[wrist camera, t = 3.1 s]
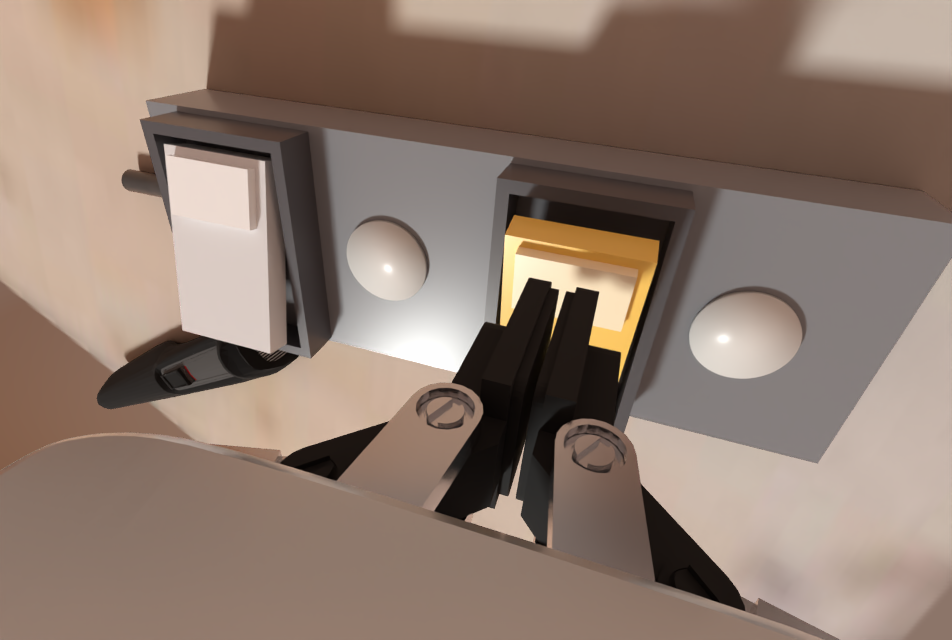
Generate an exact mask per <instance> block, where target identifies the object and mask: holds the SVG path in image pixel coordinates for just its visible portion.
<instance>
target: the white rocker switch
mask: <svg viewBox="0 0 952 640" xmlns="http://www.w3.org/2000/svg"><path fill="white" fill-rule="evenodd" d="M164 151H165V161H166V171H167V181H168V191H169V201H170V211H171V221H172V231H173V241H174V251H175V261H176V271H177V281H178V291H179V301H180V311H181V321H182V330H183V331H187V332H191V333H194V334H198V335H202V336H206V337H209V338H213V339H217V340H221V341H224V342H228V343H232V344H236V345H239V346H243V347H247V348H251V349H254V350H258V351H262V352H266V353H269V354H271V353H273V352H274V351H276V350H277V349H279V348H281V347H282V346H284V345H286V344H287V330H286V264H285V243H284V236H283V230H282V224H281V217H280V211H279V204H278V198H277V192H276V185H275V179H274V173H273V166H272V160H271V158H269V157H263V156H258V155H252V154H246V153H240V152H234V151H228V150H222V149H217V148H211V147H205V146H199V145H193V144H187V143H183V144H164Z"/></svg>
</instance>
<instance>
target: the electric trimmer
mask: <svg viewBox="0 0 952 640" xmlns="http://www.w3.org/2000/svg"><path fill="white" fill-rule="evenodd" d="M298 356H299V355H296V354H292V353H288V352H285V351H281V350H276V351H274V352H273V353H271V354H269V353H266V352H262V351H258V350H254V349H251V348H247V347H243V346H239V345H236V344H232V343H228V342H224V341H221V340H217V339H213V338H209V337H206V336H201V337H199V338H197V339H194V340H192V341H189V342H186V343H183V344H178V343H176V342H173V341H166V342H164V343H162V344H160V345H158V346H156V347H154V348H153V349H151V350H149V351H148V352H146V353H144V354H143V355H141V356H139V357H138V358H136V359H134V360H133V361H131V362H129V363H128V364H126V365H124V366H123V367H121V368H120V369H118V370H117V371H116V372H114V373H113V374H112V375H111V376H110V377H109V378H108V380H107V381H106V382H105V384H104V385H103V386H102V388H101V390H100V391H99V393H98V395H97V401H98V404H99V405H101V406H102V407H104V408H107V409H114V408H120V407H125V406H130V405H135V404H140V403H145V402H151V401H156V400H161V399H166V398H171V397H176V396H181V395H186V394H190V393H194V392H200V391H204V390H209V389H214V388H219V387H223V386H228V385H233V384H237V383H242V382H246V381H249V380H252V379H256V378H259V377H264V376H268V375H271V374H274V373H277V372H278V371H280V370H282V369H283V368H285V367H286V366H287V365H289V364H290V363H291V362H292V361H294V360H295V359H297V357H298Z"/></svg>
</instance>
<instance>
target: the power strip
mask: <svg viewBox="0 0 952 640" xmlns="http://www.w3.org/2000/svg"><path fill="white" fill-rule="evenodd" d="M146 103H147V107H148V111H149V114H150V117H149V118H144V119H140V122H141V125H142V129H143V132H144V136H145V139H146V143H147V146H148V150H149V153H150V157H151V160H152V164H153V167H154V171H155V174H152V173H147V172H141V171H136V170H127V171H125V172H124V173H123V175H122V184H123V186H124V188H125V189H127V190H129V191H133V192H138V193H143V194H148V195H153V196H158V197H162V198H163V202H164V205H165V209H166V212H167V216H168V219H169V223H170V226H171V230H172V221H171V211H170V201H169V191H168V181H167V171H166V161H165V151H164V144H183V143H187V144H193V145H199V146H205V147H211V148H217V149H222V150H228V151H234V152H240V153H246V154H252V155H258V156H263V157H269V158H271V160H272V166H273V173H274V179H275V185H276V192H277V198H278V204H279V211H280V217H281V224H282V230H283V236H284V243H285V264H286V330H287V344H286V345H284V346H282V347H281V348H279V349H277V350H281V351H285V352H288V353H292V354H296V355H300V356H304V357H307V358H312V357H313V356H314V355H315V354H316V353H317V352H318V351H319V350H320V349H321V348H322V347H323V346H324V344H325V343H326V342H327V341H328V340H330V341H334V342H338V343H342V344H346V345H350V346H354V347H358V348H362V349H366V350H370V351H374V352H378V353H382V354H386V355H390V356H394V357H397V358H401V359H405V360H409V361H413V362H417V363H421V364H425V365H429V366H433V367H437V368H441V369H445V370H449V371H453V372H458V370H459V368H460V366H461V365H462V363H463V361H464V359H465V357H466V355H467V353H468V352H469V350H470V348H471V346H472V344H473V342H474V340H475V339H476V337H477V335H478V333H479V331H480V329H481V327H482V326H483V324H484V323H485V322H490V323H494V324H499V325H500V318H501V299H502V280H503V261H504V242H505V233H506V231H507V229H508V227H509V225H510V223H511V221H512V219H513V216H514V215H517V216H523V217H528V218H534V219H540V220H545V221H551V222H556V223H562V224H568V225H573V226H579V227H585V228H590V229H596V230H601V231H607V232H613V233H618V234H624V235H630V236H635V237H641V238H646V239H652V240H658V241H659V251H658V261H657V266H656V269H655V272H654V275H653V278H652V281H651V284H650V287H649V290H648V293H647V296H646V299H645V302H644V305H643V308H642V311H641V315H640V318H639V321H638V324H637V327H636V330H635V333H634V336H633V339H632V342H631V345H630V348H629V351H628V354H627V357H626V360H625V363H624V366H623V370H622V373H621V376H620V379H619V382H618V389H617V398H616V408H615V417H614V427H616V428H618V429H619V430H620V431H621V432H623V433H624V431H625V428H626V425H627V422H628V419H629V416H631V417H635V418H639V419H643V420H647V421H651V422H655V423H659V424H663V425H667V426H671V427H675V428H679V429H683V430H687V431H691V432H695V433H699V434H703V435H707V436H711V437H715V438H719V439H723V440H727V441H731V442H734V443H738V444H742V445H746V446H750V447H754V448H758V449H762V450H766V451H770V452H774V453H778V454H782V455H786V456H790V457H794V458H798V459H802V460H806V461H810V462H814V463H818V462H819V460H820V459H821V457H822V456H823V454H824V453H825V451H826V450H827V448H828V447H829V445H830V444H831V442H832V441H833V439H834V437H835V436H836V434H837V433H838V431H839V430H840V428H841V427H842V425H843V424H844V422H845V421H846V419H847V418H848V416H849V414H850V413H851V411H852V410H853V408H854V407H855V405H856V404H857V402H858V401H859V399H860V398H861V396H862V395H863V393H864V391H865V390H866V388H867V387H868V385H869V384H870V382H871V381H872V379H873V378H874V376H875V375H876V373H877V372H878V370H879V368H880V367H881V365H882V364H883V362H884V361H885V359H886V358H887V356H888V355H889V353H890V352H891V350H892V349H893V347H894V345H895V344H896V342H897V341H898V339H899V338H900V336H901V335H902V333H903V332H904V330H905V329H906V327H907V326H908V324H909V322H910V321H911V319H912V318H913V316H914V315H915V313H916V312H917V310H918V309H919V307H920V306H921V304H922V303H923V301H924V299H925V298H926V296H927V295H928V293H929V292H930V290H931V289H932V287H933V286H934V284H935V283H936V281H937V280H938V278H939V276H940V275H941V273H942V272H943V270H944V269H945V267H946V266H947V264H948V263H949V261H950V260H951V258H952V212H951V211H950V210H948V209H947V208H946V207H944V206H943V205H941V204H940V203H939V202H937V201H936V200H935V199H933V198H932V197H931V196H929V195H928V194H926V193H925V192H924V191H920V190H913V189H906V188H899V187H892V186H885V185H878V184H871V183H864V182H857V181H850V180H842V179H835V178H828V177H821V176H814V175H807V174H800V173H793V172H786V171H779V170H772V169H765V168H758V167H751V166H744V165H737V164H730V163H723V162H716V161H709V160H702V159H695V158H688V157H681V156H674V155H667V154H660V153H653V152H646V151H639V150H632V149H625V148H617V147H610V146H603V145H596V144H589V143H582V142H575V141H568V140H561V139H554V138H547V137H540V136H533V135H526V134H519V133H512V132H505V131H498V130H491V129H484V128H477V127H470V126H463V125H456V124H449V123H442V122H435V121H428V120H421V119H414V118H407V117H399V116H392V115H385V114H378V113H371V112H364V111H357V110H350V109H343V108H336V107H329V106H322V105H315V104H308V103H301V102H294V101H287V100H280V99H273V98H266V97H259V96H252V95H245V94H238V93H231V92H224V91H217V90H210V89H202V90H197V91H192V92H187V93H182V94H177V95H172V96H167V97H162V98H157V99H152V100H147V101H146ZM172 233H173V231H172Z"/></svg>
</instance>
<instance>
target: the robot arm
mask: <svg viewBox="0 0 952 640" xmlns="http://www.w3.org/2000/svg"><path fill="white" fill-rule="evenodd" d="M551 287H552V282H550V281H545V280H540V279H535V278H530V277H529V279H528V280H527V283H526V285H525V287H524V289H523V291H522V293H521V295H520V298H519V300H518V302H517V304H516V306H515V308H514V310H513V313H512V315H511V317H510V319H509V321H508V323H507V325H506V326H503V325H499V324H494V323H490V322H485V323H484V324H483V326H482V327H481V329H480V331H479V333H478V335H477V337H476V339H475V340H474V342H473V344H472V346H471V348H470V350H469V352H468V353H467V355H466V357H465V359H464V361H463V363H462V365H461V366H460V368H459V370H458V372H457V374H456V376H455V377H454V379H453V381H452V383H436V384H431V385H428V386H426V387H423V388H421V389H420V390H418V391H417V392H416V393H415V394H413V395H412V397H411V398H410V399H409V400H408V401H407V402H406V403H405V404H404V406H403V407H402V408H401V409H400V410H399V411H398V412H397V413H396V415H395V416H394V417H393V418H392V419H391V420H390V421H388V422H385V423H382V424H379V425H376V426H372V427H369V428H366V429H363V430H360V431H356V432H353V433H350V434H347V435H343V436H340V437H337V438H334V439H331V440H327V441H324V442H321V443H318V444H315V445H311V446H308V447H305V448H302V449H300V450H298V451H296V452H293V453H292V454H290V455H289V456H288V457H285V456H282V455H281V451H280V450H272V449H261V448H250V447H238V446H227V445H215V444H207V443H203V442H199V441H195V440H190V439H184V438H179V437H173V436H167V435H159V434H144V433H130V432H129V433H102V434H93V435H85V436H79V437H74V438H69V439H65V440H62V441H59V442H55V443H52V444H49V445H47V446H45V447H43V448H41V449H38V450H36V451H34V452H32V453H30V454H28V455H26V456H25V457H23V458H21V459H19V460H17V461H16V462H14V463H12V464H10V465H9V466H7V467H5V468H4V469H2V470H0V640H839V639H837V638H836V637H834V636H832V635H830V634H828V633H826V632H824V631H822V630H820V629H818V628H816V627H814V626H812V625H810V624H808V623H806V622H804V621H802V620H800V619H799V618H797V617H795V616H793V615H791V614H789V613H787V612H785V611H783V610H781V609H779V608H777V607H775V606H773V605H771V604H769V603H767V602H765V601H763V600H761V599H760V598H758V599H757V601H756V602H755V604H754V603H752V602H751V601H749V600H747V599H745V598H743V597H741V596H740V594H739V592H738V590H737V589H736V587H735V586H734V585H733V583H732V582H731V581H730V579H729V578H728V577H727V576H726V574H725V573H724V572H723V571H722V570H721V569H720V568H719V567H718V566H717V565H716V564H715V563H714V562H713V561H712V559H711V558H710V557H709V556H708V555H707V554H706V553H705V552H704V551H703V550H702V549H701V548H700V547H699V546H698V544H697V543H696V542H695V541H694V540H693V539H692V538H691V537H690V536H689V535H688V534H687V533H686V532H685V531H684V529H683V528H682V527H681V526H680V525H679V524H678V523H677V522H676V521H675V520H674V519H673V518H672V517H671V516H670V514H669V513H668V512H667V511H666V510H665V509H664V508H663V507H662V506H661V505H660V504H659V503H658V502H657V501H656V500H655V498H654V497H653V496H652V495H651V494H650V493H649V492H648V491H647V490H646V489H645V488H644V487H643V486H642V485H641V483H640V476H639V469H638V463H637V456H636V452H635V449H634V446H633V444H632V443H631V441H630V440H629V439H628V437H627V436H626V435H625V434H624V433H623V432H621V431H620V430H619V429H618V428H616V427H614V417H615V408H616V398H617V389H618V380H619V371H620V362H621V352H618V351H614V350H609V349H605V348H601V347H596V346H592V345H589V341H590V336H591V331H592V326H593V321H594V316H595V312H596V307H597V302H598V297H599V291H594V290H589V289H584V288H580V287H576V291H575V293H574V292H569V291H566V293H565V296H564V300H563V303H562V306H561V309H560V312H559V315H558V318H557V321H556V325H555V328H554V331H553V334H552V329H553V323H554V318H555V312H556V307H557V301H558V296H559V289H554V288H551ZM551 334H552V337H551ZM525 440H526V441H525ZM524 443H525V447H524ZM523 447H524V453H523V459H522V464H521V470H520V476H519V482H518V488H517V494H516V499H518V500H522V501H523V506H522V511H521V517H522V518H523V520H524V521H525V523H526V524H527V526H528V527H529V529H530V530H531V532H532V533H533V535H534V540H533V542H529V541H526V540H523V539H520V538H517V537H514V536H510V535H507V534H504V533H501V532H498V531H495V530H491V529H488V528H485V527H482V526H479V525H476V524H472V523H471V521H472V518H473V513H475V512H477V511H480V510H482V509H484V508H487V507H490V508H493V509H495V506H496V502H497V499H498V496H499V494H502V495H505V496H508V495H509V492H510V489H511V486H512V483H513V479H514V476H515V473H516V470H517V466H518V463H519V460H520V456H521V453H522V450H523Z"/></svg>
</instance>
